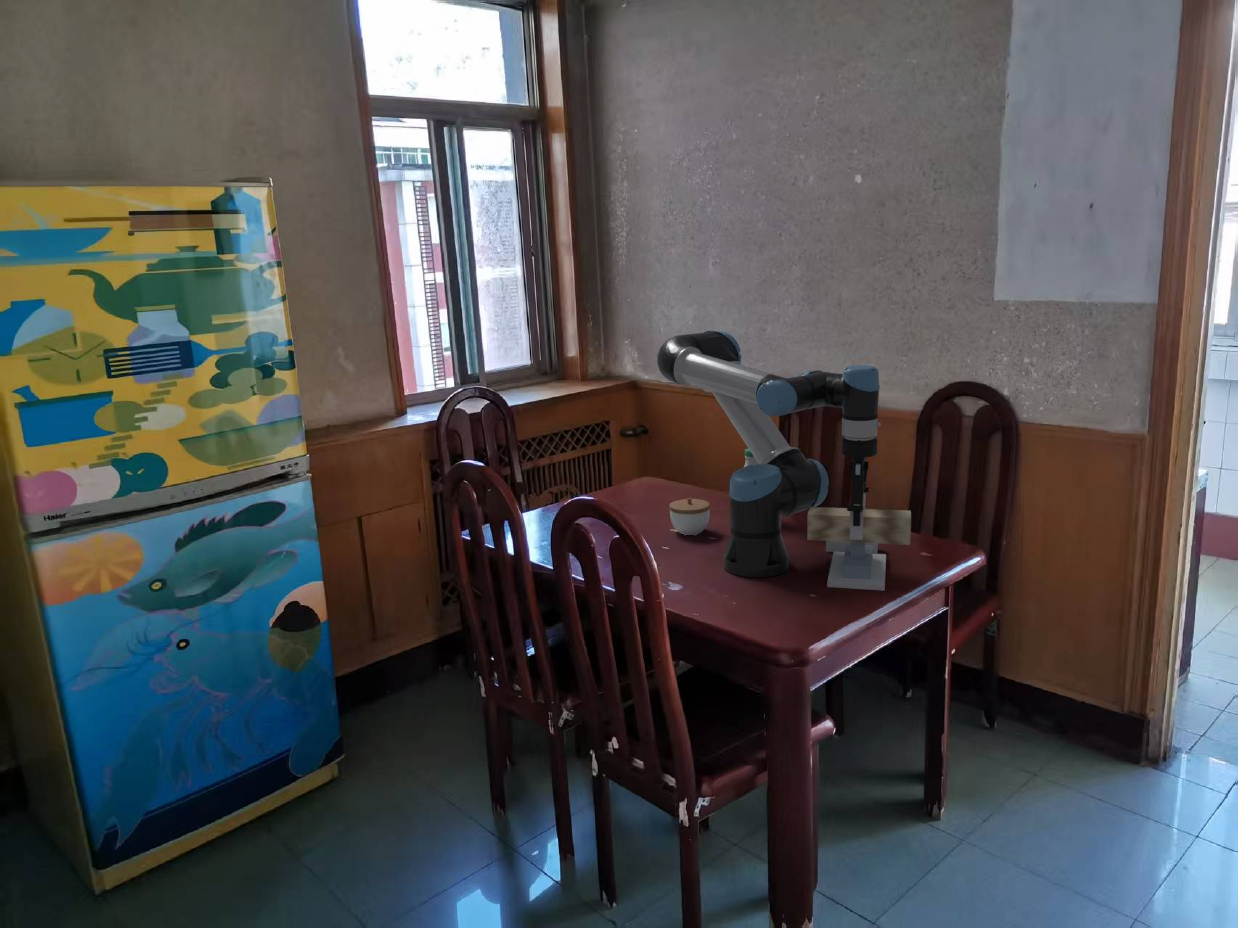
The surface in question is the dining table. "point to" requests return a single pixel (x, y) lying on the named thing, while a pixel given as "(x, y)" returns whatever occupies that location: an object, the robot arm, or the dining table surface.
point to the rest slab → (840, 546)
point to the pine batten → (875, 525)
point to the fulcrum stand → (857, 568)
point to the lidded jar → (689, 515)
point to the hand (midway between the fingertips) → (857, 529)
